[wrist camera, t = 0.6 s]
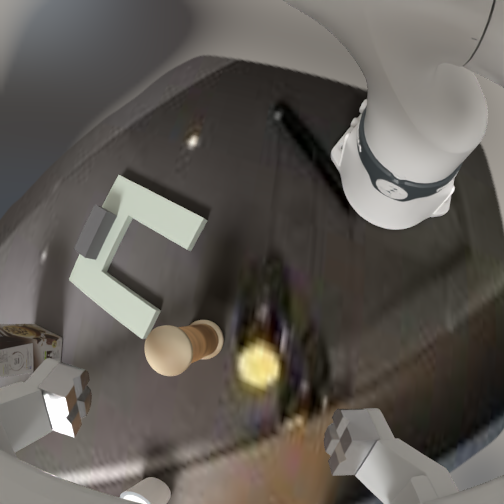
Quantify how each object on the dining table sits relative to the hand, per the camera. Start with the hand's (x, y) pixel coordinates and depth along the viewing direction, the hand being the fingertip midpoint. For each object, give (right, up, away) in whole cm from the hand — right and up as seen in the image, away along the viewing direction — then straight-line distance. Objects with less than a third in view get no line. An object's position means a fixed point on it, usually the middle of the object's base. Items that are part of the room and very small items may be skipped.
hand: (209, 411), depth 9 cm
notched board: (-17, +5, +40) cm, 44 cm away
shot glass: (-15, -36, +34) cm, 52 cm away
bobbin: (-5, -7, +35) cm, 36 cm away
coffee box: (-38, -13, +42) cm, 58 cm away
